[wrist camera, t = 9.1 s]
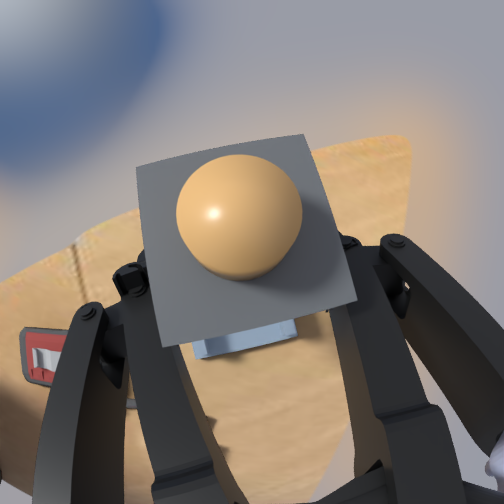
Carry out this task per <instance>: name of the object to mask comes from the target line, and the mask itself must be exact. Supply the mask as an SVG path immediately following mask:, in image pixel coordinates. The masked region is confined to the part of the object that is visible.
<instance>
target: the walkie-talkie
mask: <svg viewBox="0 0 504 504" xmlns="http://www.w3.org/2000/svg"><path fill="white" fill-rule="evenodd" d="M48 330H49V331H48ZM67 333H68V330H62V329H49V328H36V327H24V328H23V330H22V331H21V332H20V335H19V340H20V353H21V364H22V372H23V375H24V377H25V379H26V380H27V381H28V382H30V383H34V384H38V385H43V386H48V387H51V385H52V381H53V378H54V374H55V371H56V367H57V364H58V361H59V358H60V354H61V351H62V348H63V345H64V342H65V339H66V336H67ZM126 408H135V409H137V406H136V401H135V399H129V398H127V404H126Z"/></svg>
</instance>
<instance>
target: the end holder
mask: <svg viewBox="0 0 504 504" xmlns="http://www.w3.org/2000/svg"><path fill="white" fill-rule="evenodd" d="M295 336H298V334H297V330H296V326H295V322H294V319H291V320H287V321H283V322H279V323H275V324H271V325H267V326H263V327H259V328H255V329H251V330H246V331H242V332H237V333H233V334H228V335H224V336H219V337H214V338H210V339H205V340H200V341H195V342H192V346H193V350H194V354H195V358H196V359H200V358H206V357H211V356H216V355H221V354H225V353H230V352H235V351H239V350H243V349H248V348H252V347H256V346H260V345H265V344H269V343H273V342H277V341H280V340H284V339H288V338H292V337H295Z"/></svg>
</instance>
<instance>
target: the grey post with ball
mask: <svg viewBox="0 0 504 504" xmlns="http://www.w3.org/2000/svg"><path fill="white" fill-rule="evenodd" d="M136 175H137V188H138V198H139V199H138V200H139V210H140V219H141V228H142V236H143V244H144V251H145V258H146V265H147V271H148V277H149V283H150V289H151V294H152V300H153V305H154V310H155V315H156V320H157V325H158V330H159V334H160V339H161V343H162V347H168V346H173V345H179V344H184V343H190V342H195V341H200V340H205V339H210V338H214V337H219V336H224V335H228V334H233V333H237V332H242V331H246V330H251V329H255V328H259V327H263V326H267V325H271V324H275V323H279V322H283V321H287V320H291V319H295V318H298V317H302V316H306V315H309V314H313V313H317V312H320V311H324V310H327V309H330V308H334V307H337V306H341V305H344V304H347V303H351V302H354V301H357V296H356V292H355V288H354V285H353V281H352V277H351V274H350V270H349V266H348V263H347V259H346V256H345V253H344V249H343V246H342V243H341V239H340V236H339V233H338V230H337V226H336V223H335V220H334V217H333V214H332V211H331V208H330V205H329V202H328V199H327V196H326V193H325V190H324V187H323V185H322V182H321V179H320V176H319V173H318V171H317V168H316V165H315V163H314V160H313V157H312V155H311V152H310V149H309V147H308V144H307V142H306V139H305V137H304V135H303V134H300V135H292V136H284V137H277V138H270V139H264V140H257V141H251V142H245V143H239V144H234V145H228V146H223V147H219V148H213V149H209V150H204V151H199V152H194V153H190V154H186V155H182V156H177V157H173V158H169V159H165V160H161V161H157V162H154V163H150V164H146V165H142V166H139V167H136Z"/></svg>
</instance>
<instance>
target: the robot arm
mask: <svg viewBox="0 0 504 504" xmlns="http://www.w3.org/2000/svg"><path fill="white" fill-rule="evenodd" d="M338 233H339V236H340V239H341V243H342V246H343V249H344V253H345V256H346V259H347V263H348V266H349V270H350V274H351V277H352V281H353V285H354V288H355V292H356V296H357V301H354V302H351V303H347V304H344V305H341V306H337V307H334V308H330V309H327V310H326V312H328V310H329V313H330V317H331V322H332V326H333V331H334V336H335V340H336V345H337V350H338V355H339V360H340V365H341V370H342V375H343V380H344V386H345V391H346V397H347V403H348V409H349V415H350V421H351V427H352V434H353V440H354V447H355V458H354V476H355V478H354V479H353V480H351V481H350V482H348V483H347V484H345V485H344V486H342V487H340V488H339V489H337V490H336V491H334V492H332V493H331V494H329V495H328V496H326V497H324V498H322V499H321V500H319V501H316V502H313V503H298V504H504V330H503V329H502V327H501V326H500V325H499V324H498V323H497V322H496V321H495V319H493V317H492V316H491V315H490V314H489V313H488V312H487V311H486V310H485V309H484V308H483V307H482V306H481V305H480V304H479V303H478V302H477V301H476V300H475V299H474V298H473V297H472V296H471V295H470V294H469V293H468V292H467V291H466V290H465V289H464V288H463V287H462V286H461V285H460V284H459V283H458V282H457V281H456V280H455V279H454V278H453V277H452V276H451V275H450V274H449V273H447V272H446V271H445V270H444V269H443V268H442V267H441V266H440V265H439V264H438V263H436V262H435V261H434V260H433V259H432V258H431V257H430V256H429V255H427V254H426V253H425V252H424V251H423V250H422V249H421V248H419V247H418V246H417V245H416V244H414V243H413V242H412V241H411V240H410V239H408V238H407V237H405V236H403V235H400V234H387V235H385V236H383V237H382V238H381V240H380V246H362V244H361V243H360V241H359V240H358V239H356V238H354V237H351V236H343V235H342V234H341V233H340V232H339V231H338ZM112 280H113V282H114V284H115V286H116V288H117V290H118V292H119V294H120V296H121V301H120V302H118V303H116V304H114V305H112V306H110V307H108V308H105V309H104V308H103V306H102V304H101V303H99V302H90V303H87V304H85V305H83V306H81V307H80V308H79V309H78V310H77V311H76V313H75V315H74V317H73V319H72V322H71V325H70V328H69V330H68V333H67V336H66V339H65V342H64V345H63V348H62V351H61V354H60V358H59V361H58V364H57V367H56V371H55V374H54V378H53V381H52V385H51V389H50V393H49V397H48V401H47V405H46V409H45V414H44V419H43V423H42V428H41V434H40V439H39V445H38V451H37V458H36V466H35V474H34V484H33V497H32V504H124V437H125V418H126V404H127V392H128V382H129V373H130V374H131V380H132V386H133V391H134V396H135V401H136V406H137V410H138V415H139V419H140V424H141V428H142V432H143V436H144V440H145V444H146V447H147V451H148V454H149V458H150V461H151V465H152V468H153V471H154V475H155V481H154V482H153V484H152V485H151V493H152V497H153V501H154V504H249V502H248V501H247V499H246V497H245V496H244V494H243V492H242V491H241V489H240V488H239V486H238V485H237V483H236V481H235V479H234V477H233V475H232V473H231V471H230V469H229V467H228V465H227V463H226V461H225V459H224V456H223V454H222V452H221V450H220V448H219V446H218V443H217V441H216V439H215V437H214V434H213V432H212V430H211V428H210V425H209V423H208V421H207V418H206V416H205V413H204V411H203V408H202V406H201V404H200V401H199V399H198V396H197V393H196V391H195V388H194V386H193V383H192V380H191V378H190V375H189V372H188V370H187V367H186V364H185V361H184V358H183V356H182V353H181V350H180V347H179V345H173V346H168V347H162V343H161V339H160V334H159V330H158V325H157V320H156V315H155V310H154V305H153V300H152V294H151V289H150V283H149V277H148V271H147V265H146V258H145V251H144V250H143V251H142V252H141V253H140V254H139V256H138V259H137V262H133V263H129V264H126V265H124V266H122V267H121V268H119V269H118V270H117V271H116V272H115V273H114V275H113V278H112ZM405 282H406V283H407V284H408V286H409V287H410V288H409V289H408V288H407V287H406V286H405ZM405 339H406V340H407V341H408V343H409V344H410V346H411V347H412V349H413V350H414V351H415V353H416V354H417V355H418V357H419V358H420V360H421V361H422V363H423V364H424V365H425V367H426V368H427V370H428V371H429V373H430V374H431V376H432V377H433V379H434V380H435V381H436V383H437V384H438V386H439V387H440V389H441V390H442V392H443V393H444V395H445V397H446V398H447V400H448V401H449V403H450V404H451V406H452V407H453V409H454V410H455V412H456V414H457V415H458V417H459V418H460V420H461V422H462V423H463V425H464V427H465V428H466V430H467V431H468V433H469V434H470V436H471V437H472V439H473V440H474V442H475V443H476V444H477V445H478V446H479V448H480V449H481V450H482V451H483V452H484V453H485V454H486V455H487V456H488V457H489V458H490V460H489V461H488V462H487V464H486V466H485V472H486V474H487V475H488V476H494V477H495V478H496V480H497V484H498V491H495V490H491V489H488V488H484V487H481V486H478V485H475V484H472V483H468V482H466V481H463V480H462V478H461V473H460V469H459V465H458V461H457V457H456V453H455V449H454V445H453V442H452V438H451V434H450V431H449V428H448V424H447V421H446V418H445V416H444V413H443V411H442V409H441V408H440V407H439V406H438V405H434V404H430V403H429V402H428V400H427V398H426V395H425V392H424V389H423V386H422V383H421V381H420V378H419V375H418V372H417V369H416V367H415V364H414V361H413V358H412V356H411V353H410V351H409V348H408V345H407V343H406V340H405ZM1 480H2V476H1V470H0V484H1Z"/></svg>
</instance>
